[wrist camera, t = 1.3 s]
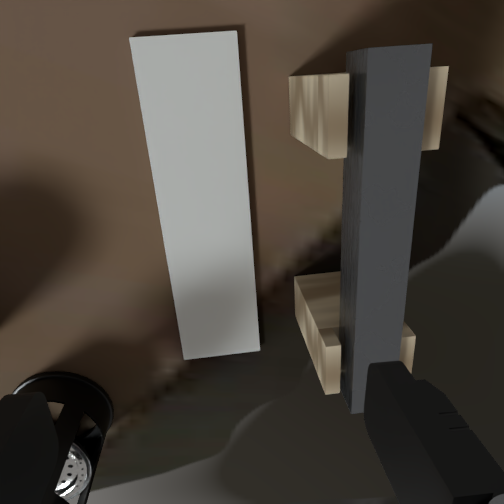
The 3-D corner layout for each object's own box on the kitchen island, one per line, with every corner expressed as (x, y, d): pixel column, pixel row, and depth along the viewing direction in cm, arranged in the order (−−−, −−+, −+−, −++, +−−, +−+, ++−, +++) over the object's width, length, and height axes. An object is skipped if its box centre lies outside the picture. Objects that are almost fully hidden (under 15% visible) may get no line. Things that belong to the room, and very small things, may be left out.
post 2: (294, 276, 35) (326, 347, 25) (361, 269, 35) (415, 335, 26) (295, 315, 36) (325, 394, 27) (358, 307, 37) (410, 383, 27)
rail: (346, 52, 20) (368, 47, 18) (402, 48, 21) (432, 43, 18) (337, 382, 29) (351, 413, 27) (376, 377, 30) (394, 407, 27)
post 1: (288, 76, 28) (329, 75, 19) (370, 70, 28) (448, 65, 19) (290, 134, 30) (328, 159, 21) (368, 128, 30) (438, 149, 21)
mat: (130, 38, 26) (129, 37, 26) (236, 31, 27) (236, 30, 26) (184, 355, 37) (184, 359, 36) (259, 346, 37) (260, 350, 37)
